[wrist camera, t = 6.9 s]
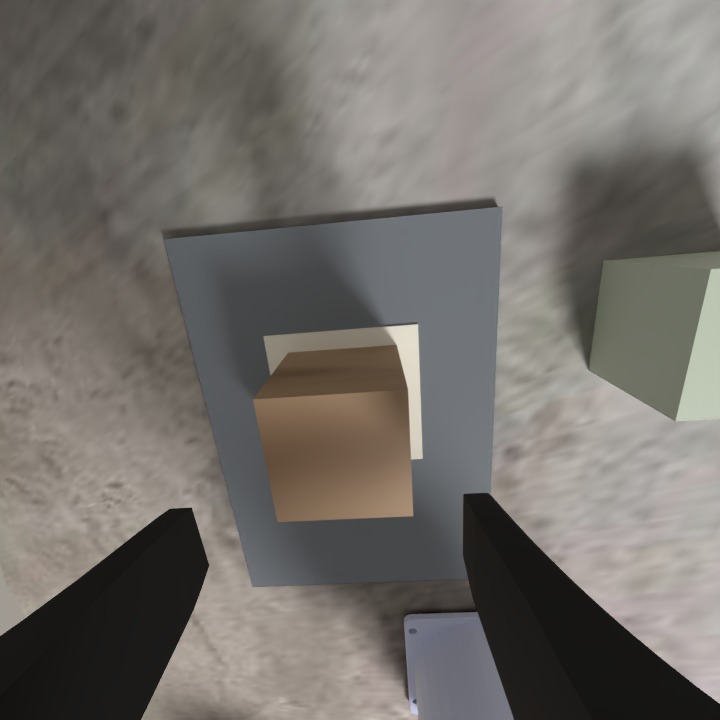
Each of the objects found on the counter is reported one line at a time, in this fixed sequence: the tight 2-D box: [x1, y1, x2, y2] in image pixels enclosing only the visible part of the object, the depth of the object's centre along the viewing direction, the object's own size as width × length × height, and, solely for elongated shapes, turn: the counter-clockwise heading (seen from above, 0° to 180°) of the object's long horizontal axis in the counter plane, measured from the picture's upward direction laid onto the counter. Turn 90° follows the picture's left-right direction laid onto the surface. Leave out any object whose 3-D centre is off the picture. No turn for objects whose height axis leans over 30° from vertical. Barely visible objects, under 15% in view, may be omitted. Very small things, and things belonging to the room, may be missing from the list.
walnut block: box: [253, 345, 413, 522], centre depth 14 cm, size 5×5×5 cm
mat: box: [164, 207, 502, 587], centre depth 17 cm, size 20×14×1 cm
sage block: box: [589, 251, 720, 421], centre depth 13 cm, size 5×5×5 cm
